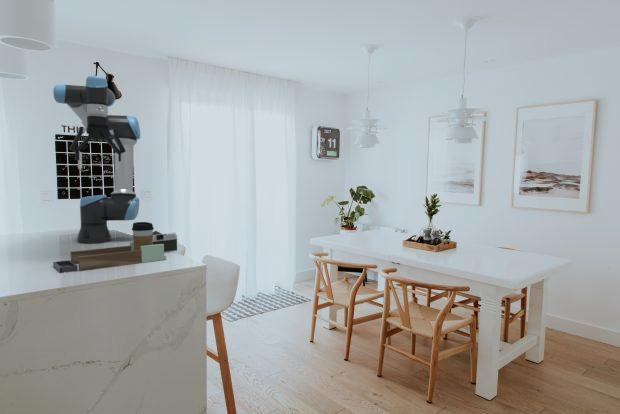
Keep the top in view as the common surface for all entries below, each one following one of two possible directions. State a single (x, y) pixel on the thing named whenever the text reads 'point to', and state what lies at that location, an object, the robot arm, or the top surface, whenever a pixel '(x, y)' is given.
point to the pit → (65, 266)
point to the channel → (106, 257)
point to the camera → (166, 241)
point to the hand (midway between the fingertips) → (98, 169)
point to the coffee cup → (142, 234)
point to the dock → (151, 252)
